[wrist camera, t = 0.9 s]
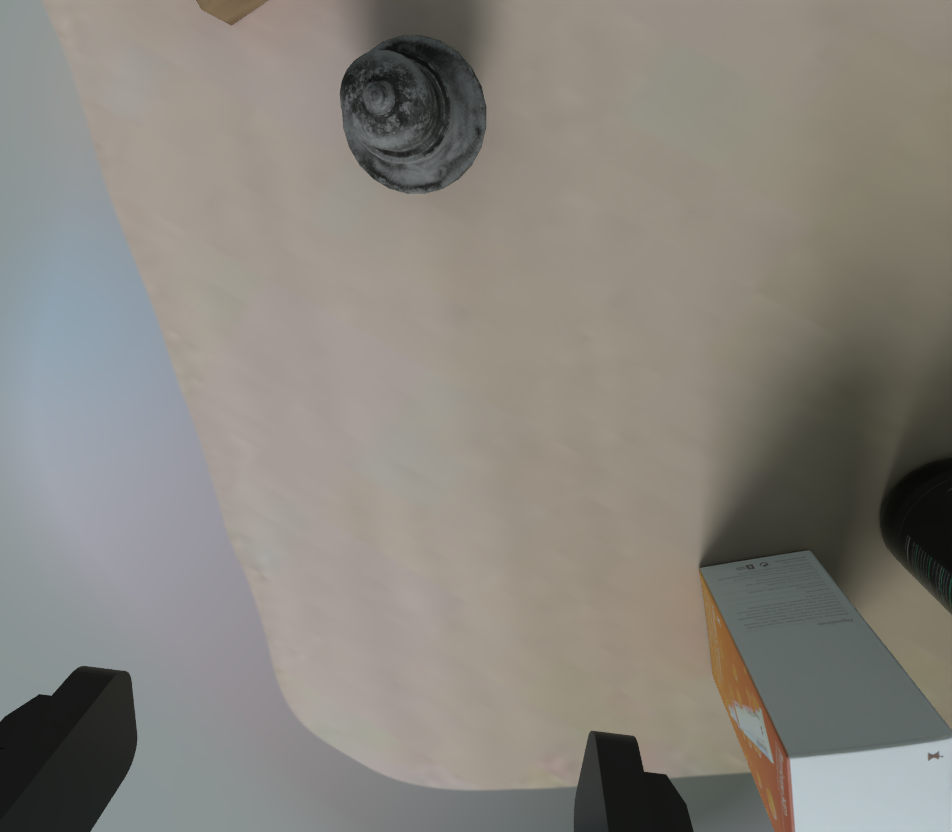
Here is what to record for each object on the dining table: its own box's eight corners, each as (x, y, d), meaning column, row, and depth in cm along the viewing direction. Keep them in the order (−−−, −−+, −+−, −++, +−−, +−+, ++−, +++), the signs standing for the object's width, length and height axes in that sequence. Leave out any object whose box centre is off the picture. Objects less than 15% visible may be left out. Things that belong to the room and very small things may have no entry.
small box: (695, 565, 37) (786, 756, 25) (811, 546, 37) (963, 734, 24) (709, 677, 40) (798, 900, 28) (818, 662, 39) (958, 884, 27)
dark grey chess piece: (438, 217, 31) (399, 243, 20) (336, 137, 30) (233, 116, 19) (515, 109, 30) (519, 71, 18) (409, 19, 29) (344, -80, 17)
